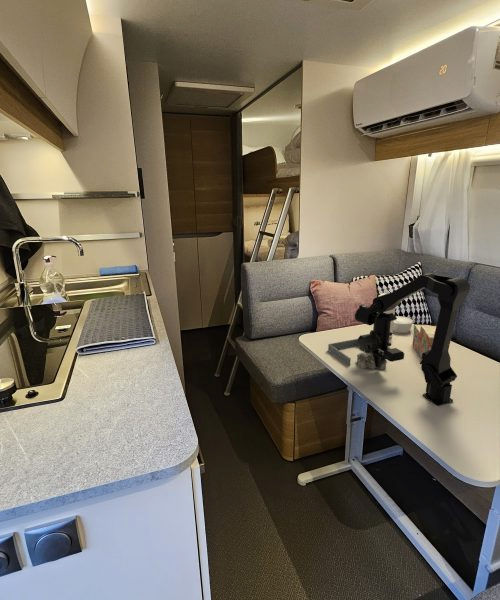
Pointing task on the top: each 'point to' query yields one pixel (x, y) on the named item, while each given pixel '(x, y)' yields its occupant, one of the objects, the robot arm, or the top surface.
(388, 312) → the milk
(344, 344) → the box
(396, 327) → the ramekin
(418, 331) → the stack of blocks
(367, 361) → the egg carton
